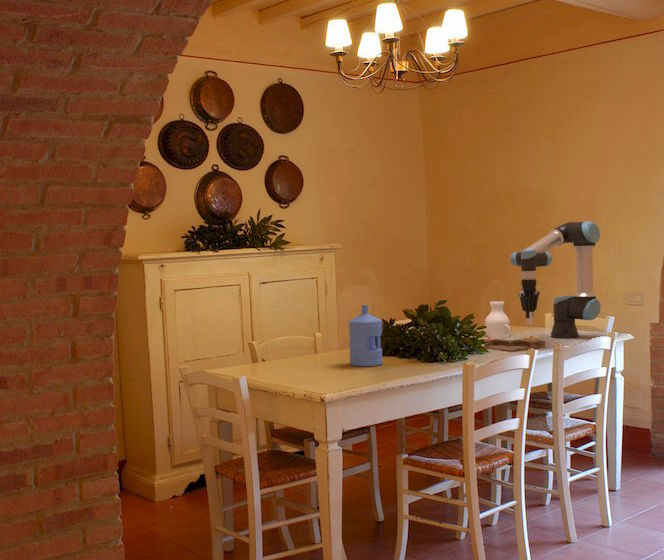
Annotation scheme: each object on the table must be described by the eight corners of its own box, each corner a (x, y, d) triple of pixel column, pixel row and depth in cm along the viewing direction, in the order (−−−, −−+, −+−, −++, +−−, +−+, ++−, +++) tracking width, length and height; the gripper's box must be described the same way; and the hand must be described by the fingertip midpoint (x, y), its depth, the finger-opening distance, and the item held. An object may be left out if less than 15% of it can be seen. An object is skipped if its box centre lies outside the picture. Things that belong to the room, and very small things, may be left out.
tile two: (489, 342, 453) (489, 337, 453) (497, 343, 448) (496, 338, 448) (480, 343, 450) (480, 338, 450) (488, 344, 445) (488, 339, 445)
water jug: (345, 366, 396) (343, 306, 395) (355, 361, 411) (354, 303, 409) (377, 367, 391) (375, 307, 389) (386, 362, 406) (385, 303, 404)
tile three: (531, 341, 445) (531, 335, 445) (539, 342, 440) (539, 336, 440) (523, 342, 442) (523, 336, 442) (531, 343, 437) (531, 337, 437)
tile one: (510, 342, 449) (510, 337, 449) (518, 343, 444) (518, 338, 444) (501, 343, 446) (501, 338, 446) (509, 344, 441) (509, 339, 441)
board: (509, 342, 463) (509, 336, 462) (545, 347, 439) (545, 340, 439) (475, 346, 451) (475, 339, 451) (510, 352, 427) (510, 345, 427)
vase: (512, 337, 484) (511, 302, 482) (487, 338, 484) (486, 303, 483) (507, 334, 498) (506, 300, 497) (483, 335, 498) (482, 301, 497)
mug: (515, 340, 471) (514, 321, 471) (506, 341, 466) (506, 323, 465) (497, 338, 480) (496, 320, 479) (488, 340, 474) (488, 322, 474)
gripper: (533, 278, 446) (534, 322, 447) (514, 279, 439) (515, 324, 441) (543, 278, 439) (544, 323, 441) (524, 279, 433) (525, 325, 434)
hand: (529, 324), depth 441 cm, fingers closed
